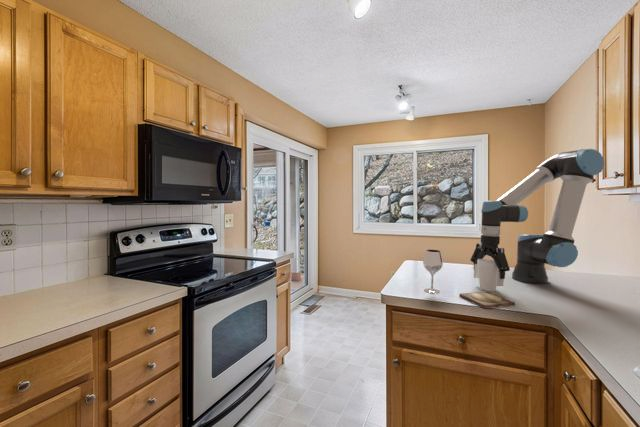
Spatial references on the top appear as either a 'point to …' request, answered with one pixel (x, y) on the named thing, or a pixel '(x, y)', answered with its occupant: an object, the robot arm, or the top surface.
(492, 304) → the stand board
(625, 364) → the top surface
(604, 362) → the top surface
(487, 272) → the foam cup
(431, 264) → the wineglass
